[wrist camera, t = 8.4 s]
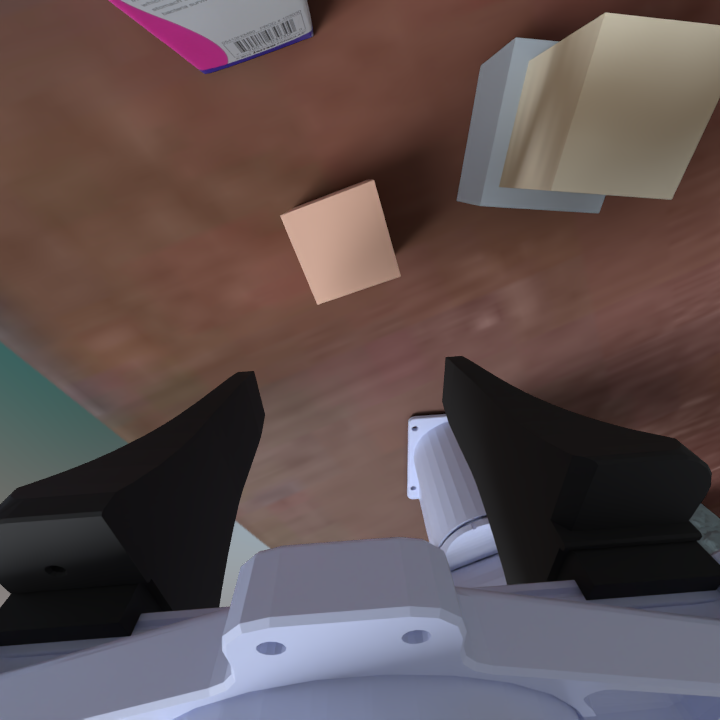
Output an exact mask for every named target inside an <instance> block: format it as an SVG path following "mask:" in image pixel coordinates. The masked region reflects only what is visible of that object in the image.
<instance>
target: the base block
mask: <svg viewBox="0 0 720 720" xmlns="http://www.w3.org/2000/svg"><path fill="white" fill-rule="evenodd" d="M557 43H558V41H548V40H537V39H527V38H517V37H516V38H514V39H513V40H512V41H511V42H509V43H508V44H507V45H506V46H505V47H503V48H502V49H501V50H500V51H498V52H497V53H496V54H495V55H493V56H492V57H491V58H490V59H488V60H487V61H486V62H485V63H483V64H482V65H481V67H480V73H479V78H478V84H477V90H476V95H475V101H474V106H473V112H472V117H471V123H470V129H469V134H468V140H467V145H466V151H465V156H464V162H463V168H462V173H461V179H460V184H459V190H458V195H457V201H459V202H464V203H468V204H473V205H478V206H488V207H504V208H520V209H537V210H553V211H569V212H585V213H599V212H600V209H601V206H602V204H603V201H604V198H605V196H606V195H599V194H585V193H571V192H558V191H545V190H531V189H518V188H504V187H499V184H500V180H501V176H502V172H503V168H504V163H505V159H506V155H507V151H508V147H509V142H510V138H511V134H512V130H513V126H514V122H515V117H516V113H517V109H518V105H519V101H520V96H521V92H522V88H523V84H524V80H525V75H526V71H527V67H528V63H529V61H530V60H531V59H533V58H535V57H536V56H538V55H539V54H541V53H542V52H544V51H546V50H547V49H549V48H550V47H552V46H553V45H555V44H557Z"/></svg>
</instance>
